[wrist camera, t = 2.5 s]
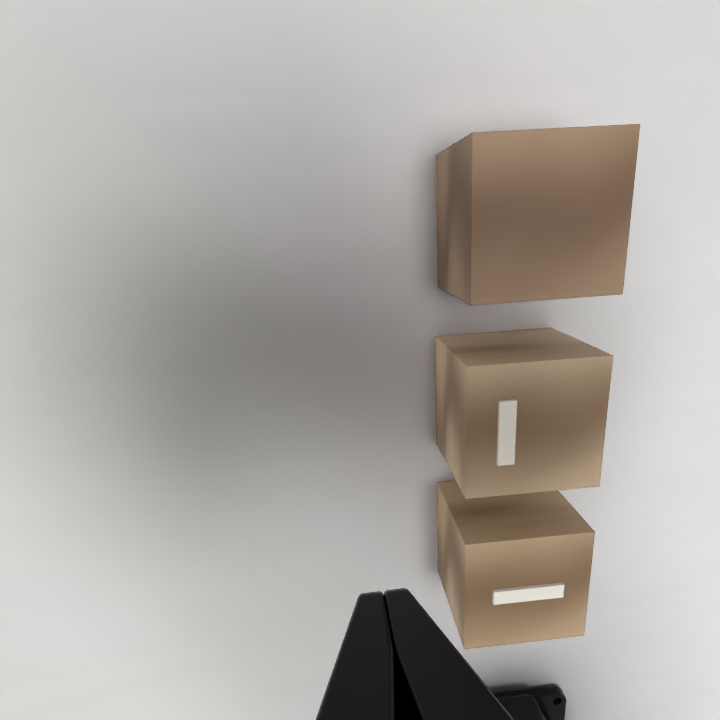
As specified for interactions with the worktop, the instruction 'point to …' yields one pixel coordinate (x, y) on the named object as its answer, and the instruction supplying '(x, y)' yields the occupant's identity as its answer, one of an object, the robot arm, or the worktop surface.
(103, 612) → the worktop surface
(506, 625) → the block one
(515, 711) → the robot arm
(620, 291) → the plain block
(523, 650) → the worktop surface
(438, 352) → the tan marked cube block
